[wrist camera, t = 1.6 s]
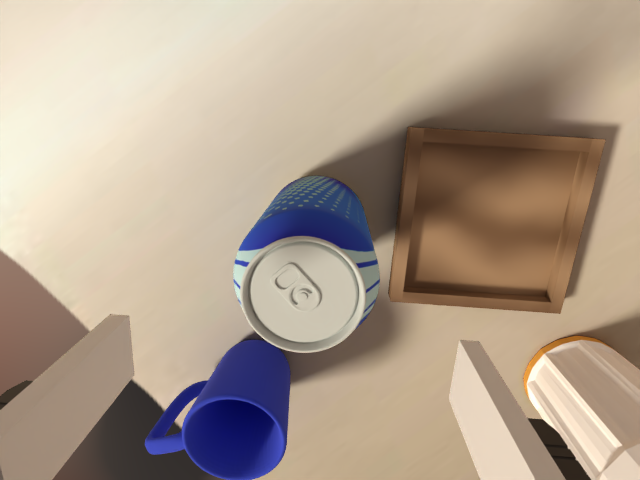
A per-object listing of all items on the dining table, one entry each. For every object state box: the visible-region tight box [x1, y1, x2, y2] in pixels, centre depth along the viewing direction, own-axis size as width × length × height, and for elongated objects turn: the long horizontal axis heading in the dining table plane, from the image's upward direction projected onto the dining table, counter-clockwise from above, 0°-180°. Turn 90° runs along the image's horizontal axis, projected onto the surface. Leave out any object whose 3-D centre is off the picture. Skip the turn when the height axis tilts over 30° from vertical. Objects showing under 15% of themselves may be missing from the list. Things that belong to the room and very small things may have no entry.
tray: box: [388, 127, 605, 314], centre depth 35 cm, size 15×15×2 cm
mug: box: [145, 340, 290, 480], centre depth 36 cm, size 8×12×10 cm
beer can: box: [233, 176, 380, 353], centre depth 29 cm, size 8×8×16 cm
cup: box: [523, 336, 640, 480], centre depth 32 cm, size 11×11×17 cm
